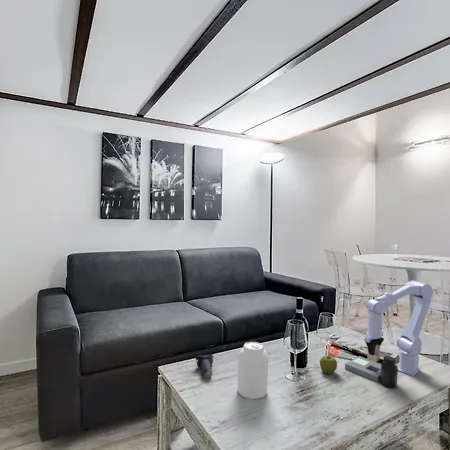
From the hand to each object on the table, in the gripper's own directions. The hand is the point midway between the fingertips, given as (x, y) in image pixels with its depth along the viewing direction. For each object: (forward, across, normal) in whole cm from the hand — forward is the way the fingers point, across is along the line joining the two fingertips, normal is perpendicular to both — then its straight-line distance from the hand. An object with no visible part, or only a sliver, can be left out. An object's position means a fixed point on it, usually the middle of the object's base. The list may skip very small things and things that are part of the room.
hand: (373, 353), depth 153 cm
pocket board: (+10, -1, -3) cm, 10 cm away
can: (+10, +57, -24) cm, 63 cm away
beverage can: (+10, +63, -49) cm, 80 cm away
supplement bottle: (+10, +4, +9) cm, 14 cm away
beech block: (+3, 0, 0) cm, 3 cm away
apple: (+10, +16, -14) cm, 24 cm away
